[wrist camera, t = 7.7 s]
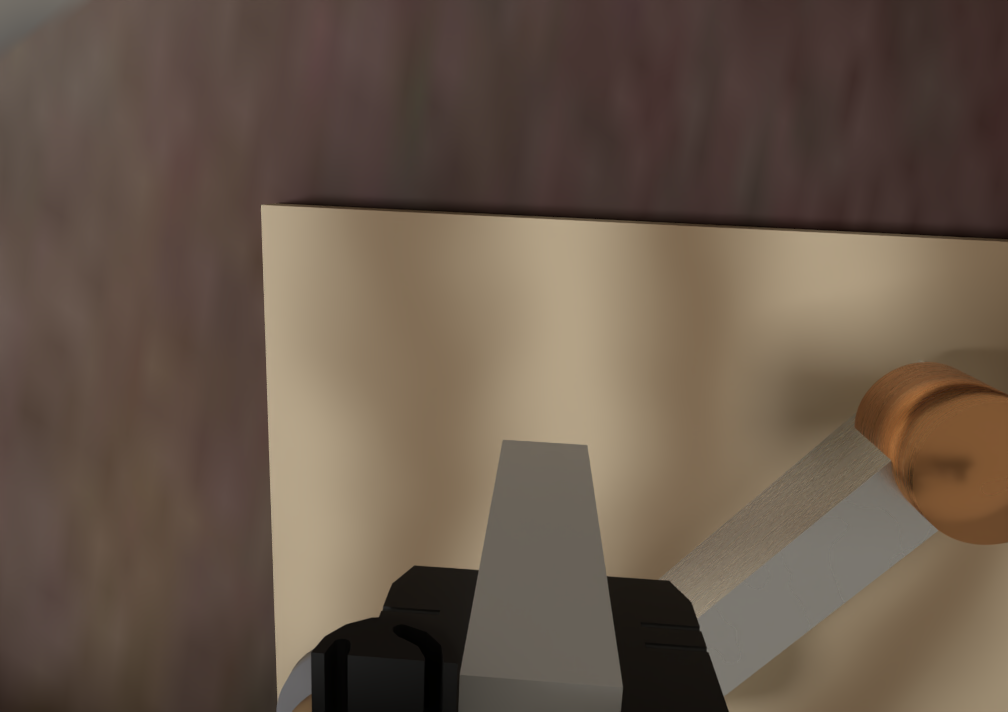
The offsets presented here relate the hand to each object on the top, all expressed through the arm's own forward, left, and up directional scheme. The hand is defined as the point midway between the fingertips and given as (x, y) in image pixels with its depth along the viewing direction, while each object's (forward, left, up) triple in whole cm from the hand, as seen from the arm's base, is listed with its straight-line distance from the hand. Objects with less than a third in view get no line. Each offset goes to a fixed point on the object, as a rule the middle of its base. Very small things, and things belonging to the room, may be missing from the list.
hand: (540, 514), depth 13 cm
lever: (+4, -4, -5) cm, 8 cm away
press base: (+3, -3, -7) cm, 8 cm away
